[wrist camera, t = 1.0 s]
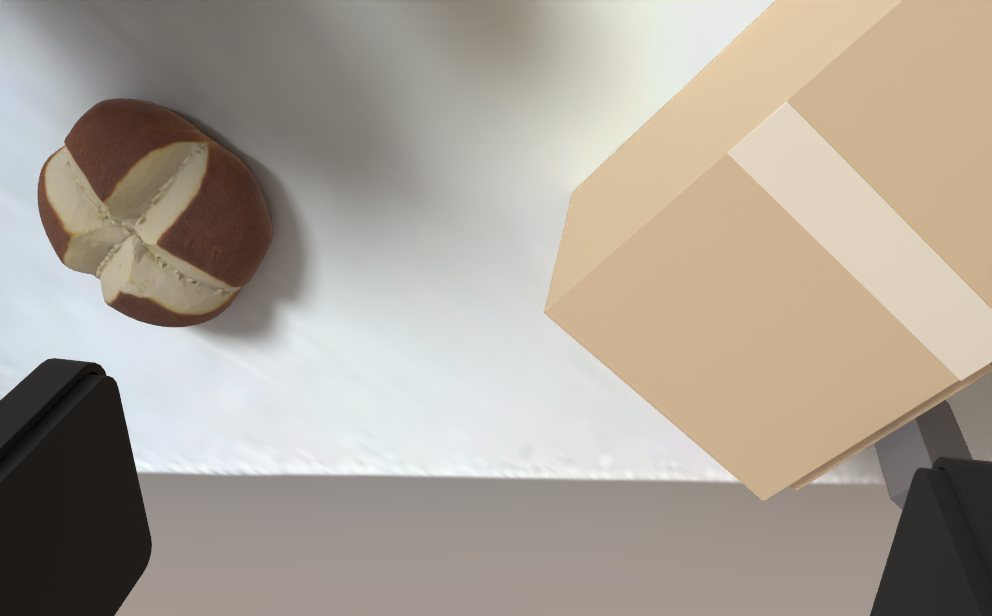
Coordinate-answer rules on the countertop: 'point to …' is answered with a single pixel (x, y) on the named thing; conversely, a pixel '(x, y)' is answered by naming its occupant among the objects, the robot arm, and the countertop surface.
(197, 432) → the countertop surface
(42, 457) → the robot arm
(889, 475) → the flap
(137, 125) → the bread
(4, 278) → the countertop surface
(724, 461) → the carton
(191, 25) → the countertop surface
